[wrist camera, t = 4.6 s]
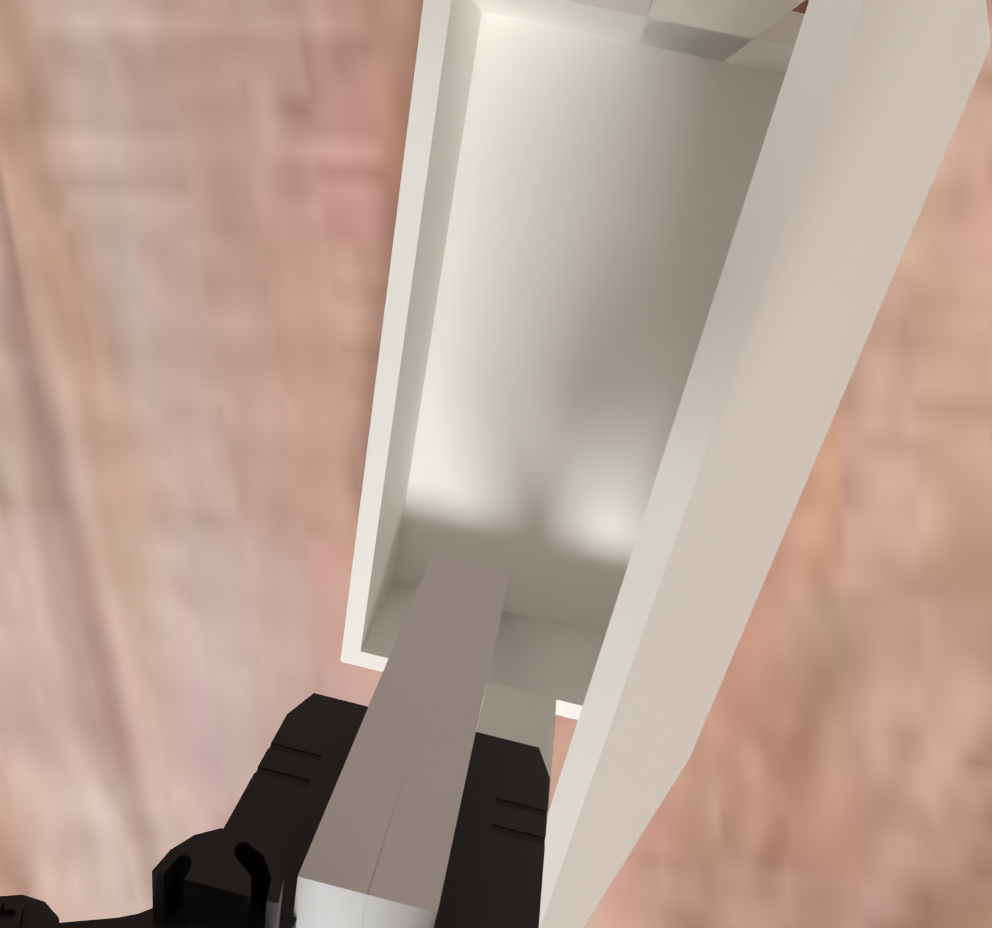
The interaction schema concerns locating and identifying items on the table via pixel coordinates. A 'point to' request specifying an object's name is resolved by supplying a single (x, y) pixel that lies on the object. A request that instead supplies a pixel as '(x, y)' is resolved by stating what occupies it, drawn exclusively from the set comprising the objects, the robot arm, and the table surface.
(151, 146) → the table surface
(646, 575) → the lid
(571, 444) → the box
